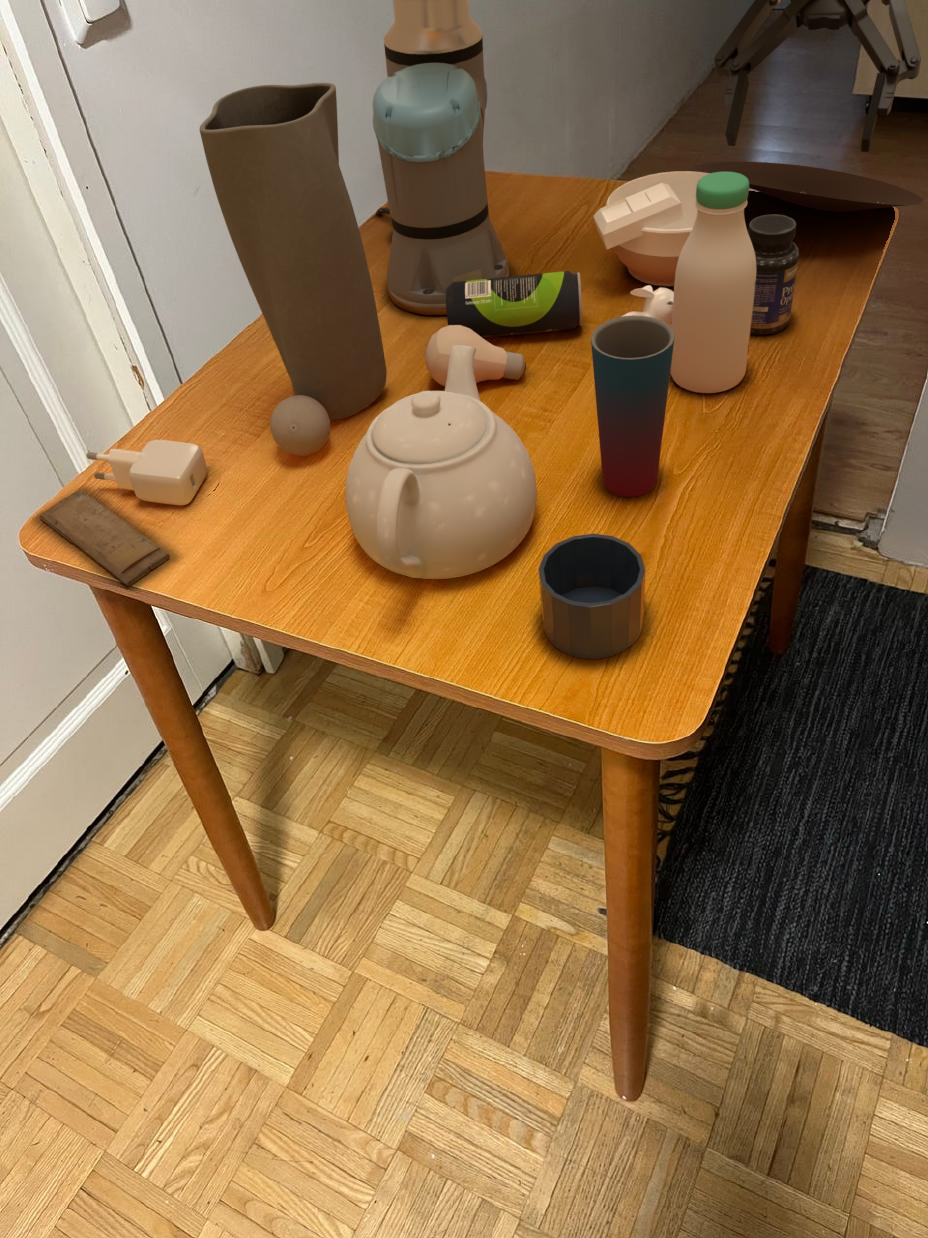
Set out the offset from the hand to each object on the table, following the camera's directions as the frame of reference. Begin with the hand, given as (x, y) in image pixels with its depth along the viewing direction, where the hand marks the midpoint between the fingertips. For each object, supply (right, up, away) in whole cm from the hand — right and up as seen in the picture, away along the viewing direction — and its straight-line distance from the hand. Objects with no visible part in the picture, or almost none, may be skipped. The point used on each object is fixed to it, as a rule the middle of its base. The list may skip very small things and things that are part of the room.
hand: (795, 143), depth 98 cm
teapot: (-36, -41, -11) cm, 56 cm away
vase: (-48, -26, +5) cm, 55 cm away
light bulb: (-33, -24, +5) cm, 41 cm away
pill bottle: (-2, -17, +6) cm, 18 cm away
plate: (+8, +4, +21) cm, 23 cm away
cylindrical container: (-24, -50, -21) cm, 59 cm away
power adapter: (-66, -32, -2) cm, 73 cm away
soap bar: (-14, -4, +10) cm, 18 cm away
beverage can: (-37, -14, +10) cm, 40 cm away
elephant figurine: (-15, -19, 0) cm, 24 cm away
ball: (-53, -32, -2) cm, 62 cm away
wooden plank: (-68, -40, -6) cm, 79 cm away
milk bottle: (-9, -24, +1) cm, 26 cm away
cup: (-19, -37, -10) cm, 42 cm away
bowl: (-9, -6, +17) cm, 20 cm away
